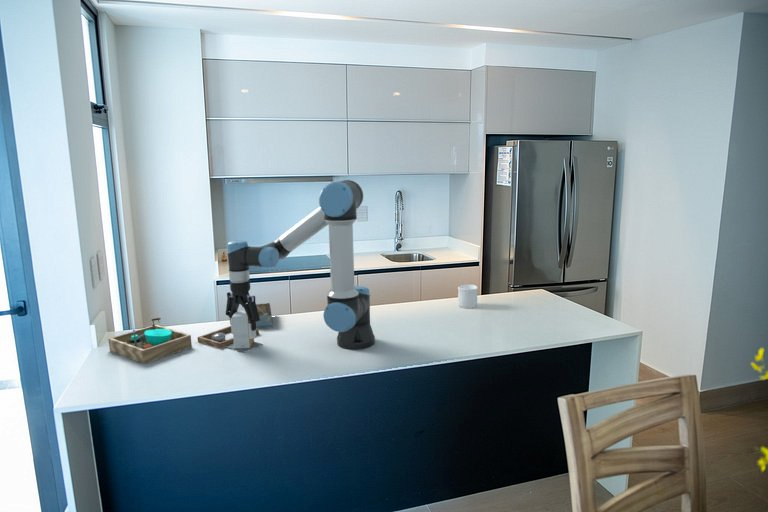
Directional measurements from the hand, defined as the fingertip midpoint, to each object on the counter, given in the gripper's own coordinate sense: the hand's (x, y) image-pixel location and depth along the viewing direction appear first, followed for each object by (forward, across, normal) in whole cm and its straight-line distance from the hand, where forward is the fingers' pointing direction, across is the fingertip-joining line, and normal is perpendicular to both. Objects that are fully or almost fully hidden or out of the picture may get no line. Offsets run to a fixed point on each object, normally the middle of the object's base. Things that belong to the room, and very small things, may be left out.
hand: (243, 335), depth 206 cm
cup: (+5, -50, -97) cm, 109 cm away
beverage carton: (+5, +17, -25) cm, 31 cm away
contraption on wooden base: (+5, +29, +22) cm, 37 cm away
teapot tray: (+4, +29, +22) cm, 37 cm away
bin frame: (+4, +13, -3) cm, 14 cm away
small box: (+4, 0, 0) cm, 4 cm away
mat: (+4, 0, 0) cm, 4 cm away
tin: (+5, +13, +2) cm, 14 cm away
